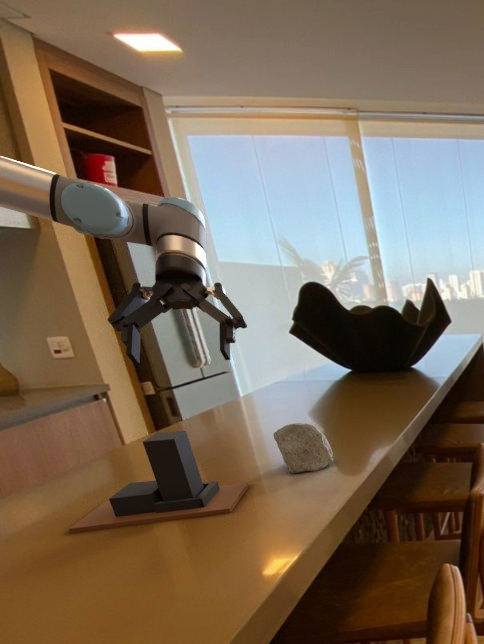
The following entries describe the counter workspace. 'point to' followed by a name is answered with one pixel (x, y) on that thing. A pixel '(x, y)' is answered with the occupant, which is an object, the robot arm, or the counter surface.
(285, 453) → the decorative stone
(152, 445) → the tall black block
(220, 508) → the dock mat
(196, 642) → the counter surface
